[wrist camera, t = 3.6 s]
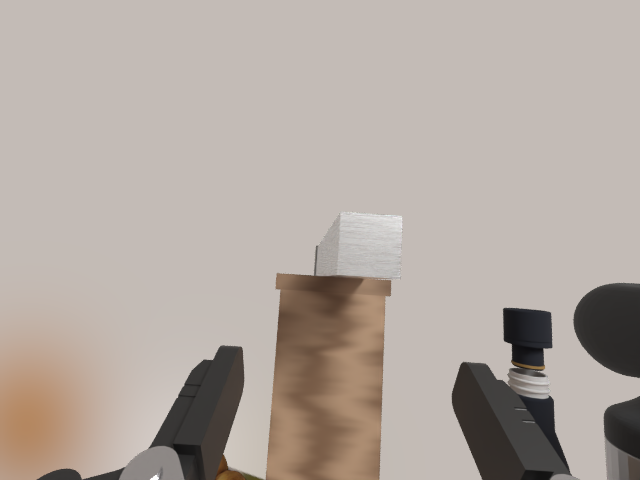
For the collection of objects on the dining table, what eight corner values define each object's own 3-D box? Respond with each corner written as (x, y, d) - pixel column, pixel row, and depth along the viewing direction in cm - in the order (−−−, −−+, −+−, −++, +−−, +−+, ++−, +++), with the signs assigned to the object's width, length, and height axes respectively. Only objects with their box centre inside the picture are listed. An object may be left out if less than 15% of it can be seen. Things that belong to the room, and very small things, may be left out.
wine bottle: (495, 612, 30) (491, 305, 34) (579, 661, 26) (564, 311, 30) (488, 680, 25) (485, 307, 29) (593, 753, 21) (573, 315, 25)
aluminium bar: (343, 278, 43) (345, 249, 43) (402, 279, 19) (404, 213, 19) (313, 276, 42) (315, 247, 43) (335, 274, 19) (339, 208, 19)
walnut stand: (357, 532, 39) (368, 280, 43) (378, 673, 25) (391, 280, 29) (272, 526, 39) (291, 275, 43) (245, 663, 25) (276, 273, 29)
